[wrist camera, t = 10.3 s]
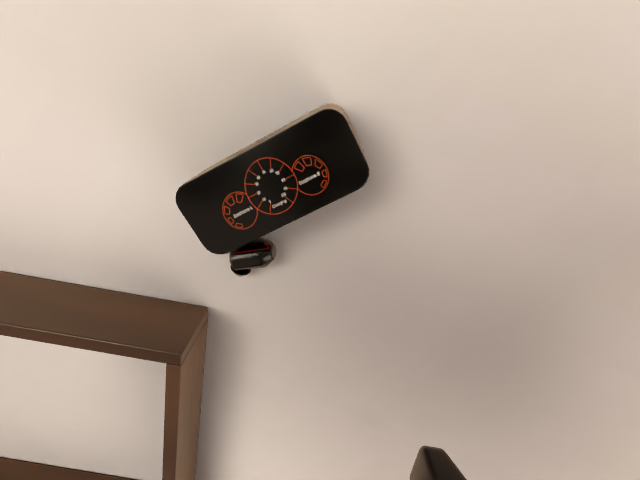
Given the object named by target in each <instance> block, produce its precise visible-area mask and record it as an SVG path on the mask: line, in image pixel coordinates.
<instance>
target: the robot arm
mask: <svg viewBox="0 0 640 480" xmlns="http://www.w3.org/2000/svg"><path fill="white" fill-rule="evenodd" d="M410 480H466V478H465V477H464V476H463V474H462V473H461V472H460V471H459V469H458V468H457V467H456V465H455V464H454V463H453V461H452V460H451V459H450V457H449V456H448V455H447V453H446V452H445V451H444V450H442V449H440V448H436V447H430V446H422V447H421V448H420V450H419V452H418V455H417V458H416V460H415V463H414V466H413V469H412V471H411V475H410Z"/></svg>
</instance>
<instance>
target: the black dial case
mask: <svg viewBox="0 0 640 480" xmlns="http://www.w3.org/2000/svg"><path fill="white" fill-rule="evenodd" d="M368 177H369V168H368V164H367V161H366V158H365V155H364V152H363V149H362V147H361V145H360V143H359V141H358V139H357V137H356V134H355V132H354V130H353V128H352V126H351V124H350V122H349V120H348V118H347V116H346V113H345V112H344V111H343V109H342V108H341V107H339V106H338V105H335V104H326V105H323V106H321V107H319V108H317V109H315V110H314V111H312V112H310V113H308V114H306V115H304V116H303V117H301V118H299V119H297V120H295V121H293V122H291V123H290V124H288V125H286V126H284V127H282V128H280V129H279V130H277V131H275V132H273V133H271V134H269V135H268V136H266V137H264V138H262V139H260V140H258V141H257V142H255V143H253V144H251V145H249V146H247V147H246V148H244V149H242V150H240V151H238V152H236V153H235V154H233V155H231V156H229V157H227V158H225V159H223V160H222V161H220V162H218V163H216V164H214V165H212V166H211V167H209V168H207V169H206V170H204V171H203V172H201V173H200V174H198V175H197V176H195V177H194V178H192V179H191V180H189V181H188V182H186V183H185V184H183V185H182V186H181V187H179V189H178V191H177V193H176V203H177V206H178V208H179V209H180V211H181V212H182V214H183V215H184V217H185V218H186V220H187V221H188V223H189V224H190V226H191V227H192V229H193V230H194V232H195V234H196V235H197V237H198V238H199V240H200V241H201V243H202V244H203V245H204V247H205V248H206V249H207V250H209V251H210V252H212V253H215V254H225V253H228V252H230V255H229V257H230V263H231V270H232V271H233V272H234V274H236V275H237V276H239V277H242V276H245V275H247V274H249V273H250V271H251V269H252V268H263V267H266V266H268V265H269V264H270V263H271V262H272V261H273V260H274V259H275V256H276V247H275V245H274V243H273V242H271V241H269V240H266V239H263V238H259V237H261V236H263V235H266V234H268V233H270V232H272V231H274V230H276V229H278V228H280V227H282V226H284V225H286V224H288V223H290V222H292V221H294V220H297V219H299V218H301V217H303V216H305V215H307V214H309V213H311V212H313V211H315V210H317V209H319V208H321V207H323V206H325V205H327V204H330V203H332V202H334V201H336V200H338V199H340V198H342V197H344V196H346V195H348V194H350V193H352V192H354V191H356V190H358V189H360V188H361V187H363V186H364V184H365V183H366V182H367V179H368ZM257 238H258V239H257Z"/></svg>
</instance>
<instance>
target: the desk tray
mask: <svg viewBox="0 0 640 480" xmlns="http://www.w3.org/2000/svg"><path fill="white" fill-rule="evenodd" d="M207 318H208V308H207V307H202V306H196V305H190V304H185V303H179V302H173V301H167V300H162V299H156V298H150V297H144V296H139V295H133V294H127V293H122V292H116V291H110V290H104V289H99V288H93V287H87V286H81V285H76V284H70V283H64V282H58V281H53V280H47V279H41V278H36V277H30V276H24V275H18V274H13V273H7V272H1V271H0V335H4V336H10V337H16V338H22V339H28V340H34V341H39V342H45V343H51V344H57V345H63V346H69V347H74V348H80V349H86V350H92V351H98V352H104V353H109V354H115V355H121V356H127V357H133V358H139V359H144V360H150V361H156V362H162V363H167V364H166V392H165V420H164V449H163V478H162V480H195V474H196V461H197V448H198V436H199V423H200V410H201V397H202V385H203V372H204V359H205V347H206V334H207V321H208V319H207ZM0 480H132V479H126V478H120V477H114V476H108V475H102V474H96V473H90V472H84V471H78V470H72V469H66V468H60V467H54V466H48V465H42V464H35V463H29V462H23V461H17V460H11V459H5V458H0Z"/></svg>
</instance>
